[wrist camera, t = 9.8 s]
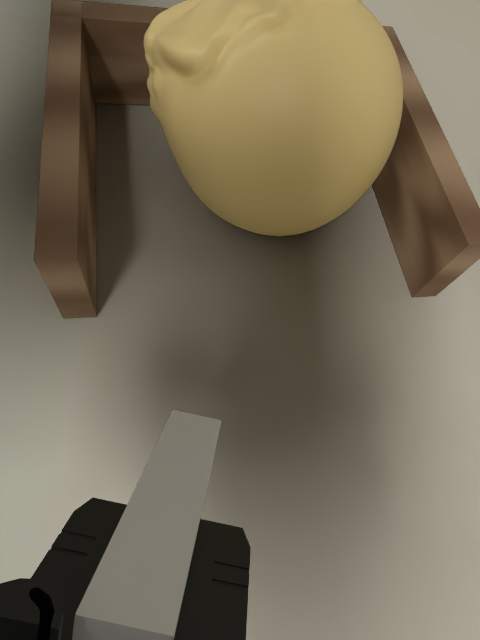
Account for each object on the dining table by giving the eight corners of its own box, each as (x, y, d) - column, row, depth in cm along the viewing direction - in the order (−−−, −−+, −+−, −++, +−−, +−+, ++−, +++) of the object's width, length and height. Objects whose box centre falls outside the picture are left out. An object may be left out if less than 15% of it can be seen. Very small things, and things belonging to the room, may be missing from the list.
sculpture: (257, 91, 29) (301, -118, 20) (387, 200, 27) (510, 20, 17) (122, 159, 25) (93, -69, 15) (262, 299, 22) (334, 128, 13)
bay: (435, 295, 24) (496, 244, 20) (63, 318, 20) (33, 259, 15) (359, 98, 31) (392, 26, 26) (71, 85, 27) (51, -2, 22)
